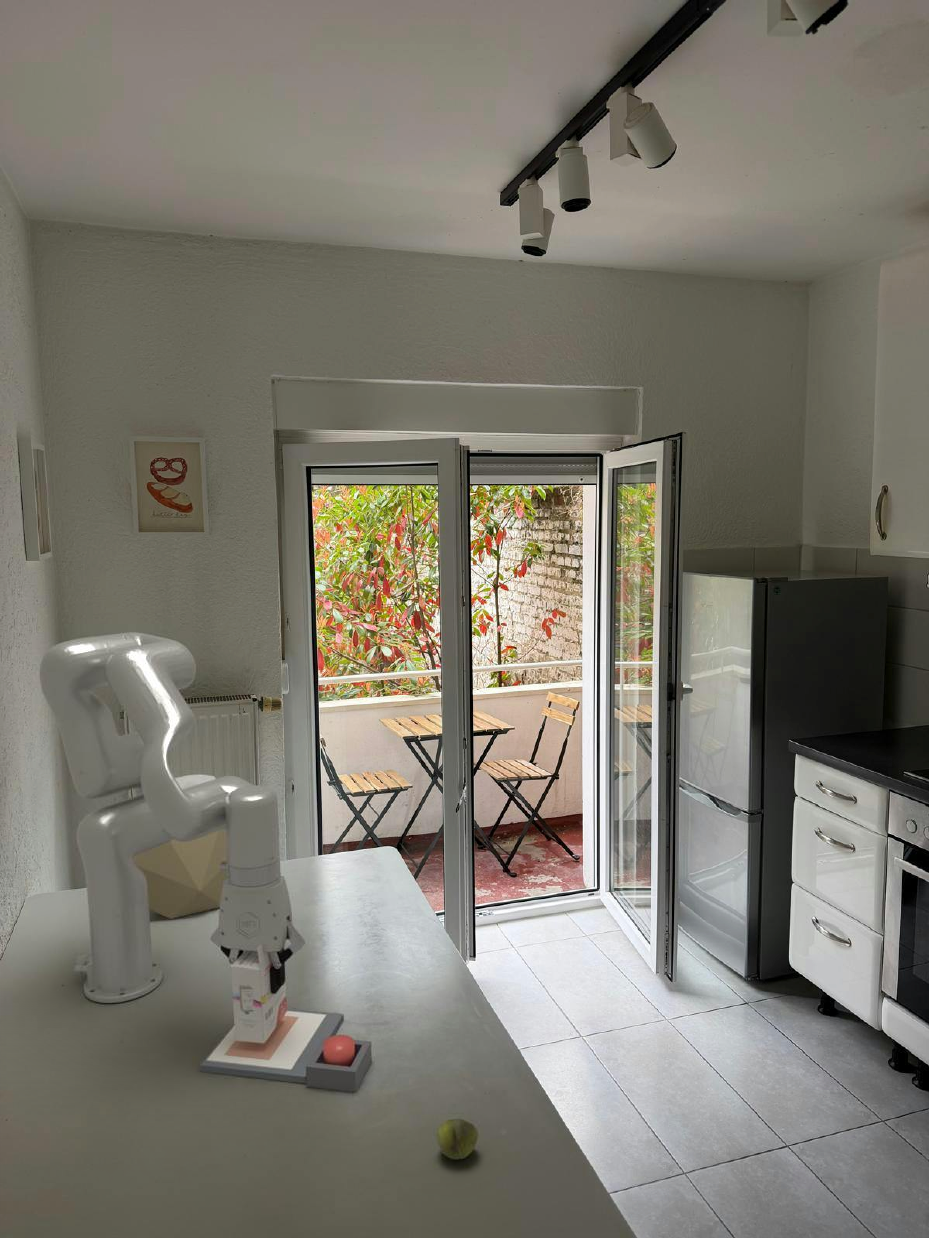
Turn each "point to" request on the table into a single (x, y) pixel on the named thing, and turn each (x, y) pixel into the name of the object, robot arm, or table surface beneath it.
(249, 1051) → the sketch board
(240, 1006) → the ink cartridge box
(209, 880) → the perfume bottle
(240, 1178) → the table surface
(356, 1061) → the button housing
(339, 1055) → the button
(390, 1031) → the table surface
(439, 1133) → the lime
